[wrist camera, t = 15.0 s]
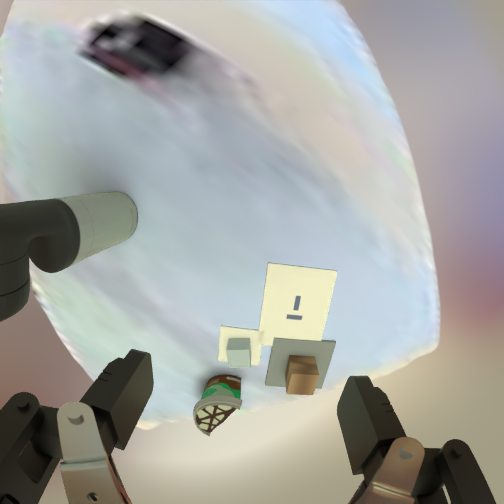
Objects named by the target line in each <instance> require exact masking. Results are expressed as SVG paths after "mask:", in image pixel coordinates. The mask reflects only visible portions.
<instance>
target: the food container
mask: <svg viewBox="0 0 504 504" xmlns="http://www.w3.org/2000/svg"><path fill="white" fill-rule="evenodd" d="M240 395H241V378H239V377H236V376H232V375H218V376H215V377H213V378H211V379H210V380H209V381H208V383H207V386H206V388H205V391H204V393H203V396H202V398H201V400H200V401H199V402H197V403H196V405H195V407H194V411H193V417H194V421H195V424H196V426H197V428H198V429H199V430H200V431H202V432H203V433H204V434H206V435H208V436H210V433H211V432H212V430H213V429H214V428H216V427H217V426H218V425H220V424H221V423H223V422H224V421H225V420H226V419H227V417H228V416H229V415H230V414H231V413H232V412H234V411H235V410H236V409H239V410H240V407H241V404H242V400H240Z"/></svg>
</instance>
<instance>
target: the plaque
mask: <svg viewBox="0 0 504 504" xmlns="http://www.w3.org/2000/svg"><path fill="white" fill-rule="evenodd" d="M258 332H259V330H252V329H243V328H236V327H228V326H221V328H220V341H219V356H218V360H219V361H226V362H228V360H227V353H226V348H227V344H228V339H229V338H250V343H251V365H259V360H260V354H261V348H262V345H259V344H258V345H257V341H258V343H259V342H260V341H261V339H262V338H261V337H260V336H259V337H260V338H261V339H259V340H260V341H259V340H257V339H258V335H260V334H258ZM260 332H263V331H260ZM263 334H264V333H263ZM262 337H263V336H262ZM262 341H263V340H262Z"/></svg>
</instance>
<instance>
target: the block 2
mask: <svg viewBox="0 0 504 504" xmlns="http://www.w3.org/2000/svg"><path fill="white" fill-rule="evenodd" d="M318 378H319V371H318V368H317V364H316V360H315V356H299V355H289V358H288V363H287V367H286V372H285V381H286V392H287V394H300V395H313V394H314V391H315V388H316V384H317V381H318Z"/></svg>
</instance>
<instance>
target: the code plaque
mask: <svg viewBox="0 0 504 504" xmlns="http://www.w3.org/2000/svg"><path fill="white" fill-rule="evenodd" d="M336 275H337V271H335V270H326V269H317V268H308V267H300V266H291V265H283V264H274V263H268V267H267V275H266V282H265V289H264V297H263V304H262V311H261V318H260V325H259V332H258V334H260V335H258V339H257V340H259V339H261V338H262V339H261V341H260V340H259V341H260V342H259V343H258V341H257V345H258V344H259V345H266V346H273V341H274V337H276V338H287V339H299V340H313V341H321V339H322V335H323V331H324V327H325V323H326V319H327V315H328V311H329V307H330V302H331V298H332V293H333V289H334V284H335V279H336ZM260 331H263V332H260ZM263 333H264V334H263ZM259 336H260V337H261V338H260V337H259ZM262 336H263V337H262ZM262 340H263V341H262Z"/></svg>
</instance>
